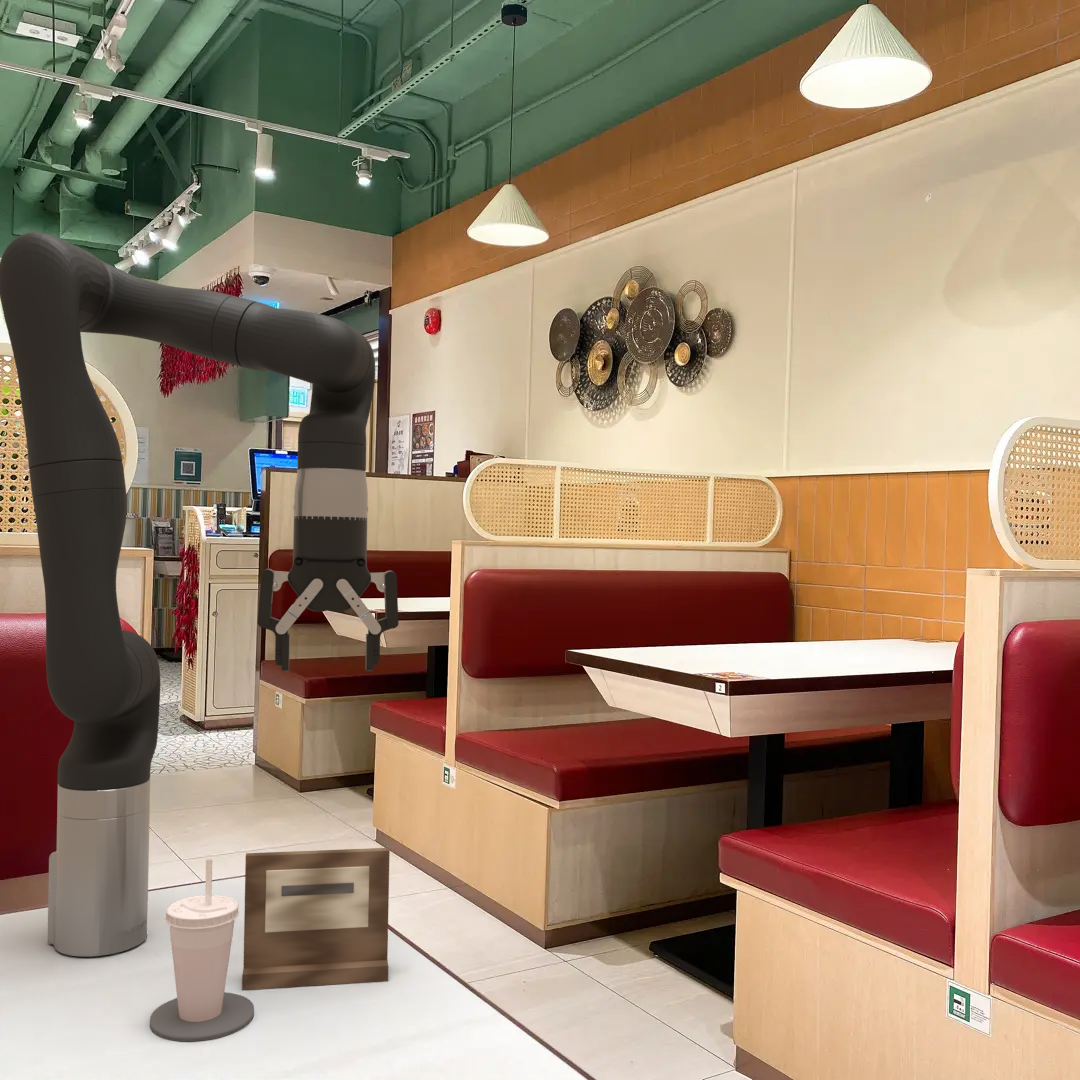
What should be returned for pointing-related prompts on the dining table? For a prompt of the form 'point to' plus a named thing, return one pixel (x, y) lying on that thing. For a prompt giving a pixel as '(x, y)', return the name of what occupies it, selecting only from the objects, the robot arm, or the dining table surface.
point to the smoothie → (201, 950)
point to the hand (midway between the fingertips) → (327, 670)
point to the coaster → (229, 1021)
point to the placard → (316, 918)
